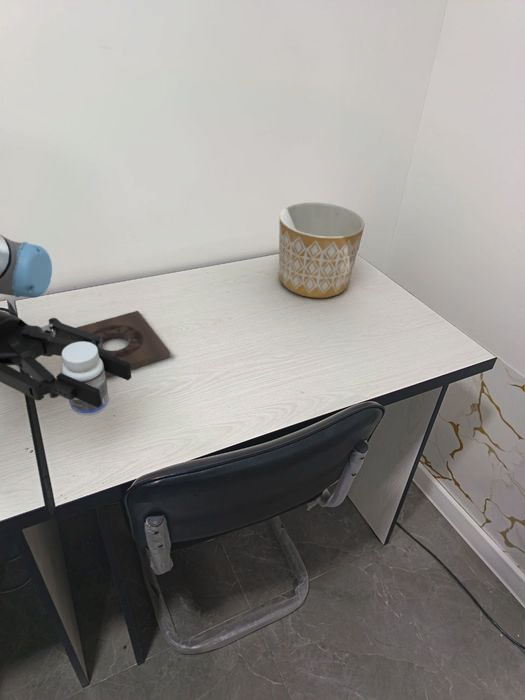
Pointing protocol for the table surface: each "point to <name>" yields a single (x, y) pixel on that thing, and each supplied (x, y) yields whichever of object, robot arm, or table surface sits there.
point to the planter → (318, 248)
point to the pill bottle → (85, 374)
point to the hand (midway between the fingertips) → (113, 384)
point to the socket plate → (130, 339)
